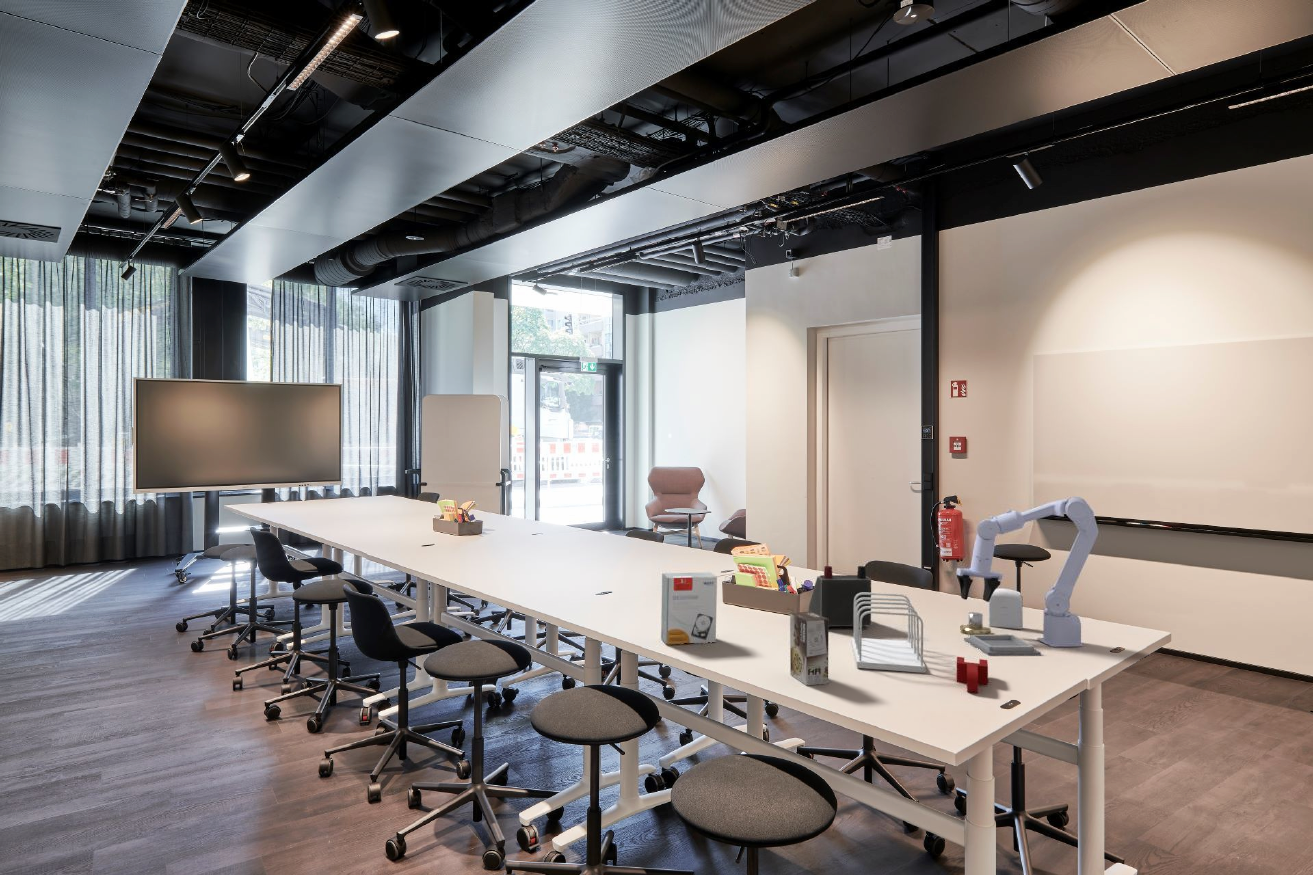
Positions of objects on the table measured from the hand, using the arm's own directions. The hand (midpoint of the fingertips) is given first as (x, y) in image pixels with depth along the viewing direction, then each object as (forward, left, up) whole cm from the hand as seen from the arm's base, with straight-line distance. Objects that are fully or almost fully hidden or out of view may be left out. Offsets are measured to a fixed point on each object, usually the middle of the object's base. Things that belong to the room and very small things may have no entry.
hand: (974, 599), depth 227 cm
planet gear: (-1, -1, -11) cm, 11 cm away
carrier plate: (-1, +15, -11) cm, 18 cm away
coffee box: (+62, +42, -11) cm, 76 cm away
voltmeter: (+39, -13, -11) cm, 43 cm away
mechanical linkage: (+22, +46, -11) cm, 52 cm away
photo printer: (-14, -8, -11) cm, 19 cm away
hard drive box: (+90, +7, -11) cm, 91 cm away
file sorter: (+36, +24, -11) cm, 45 cm away
